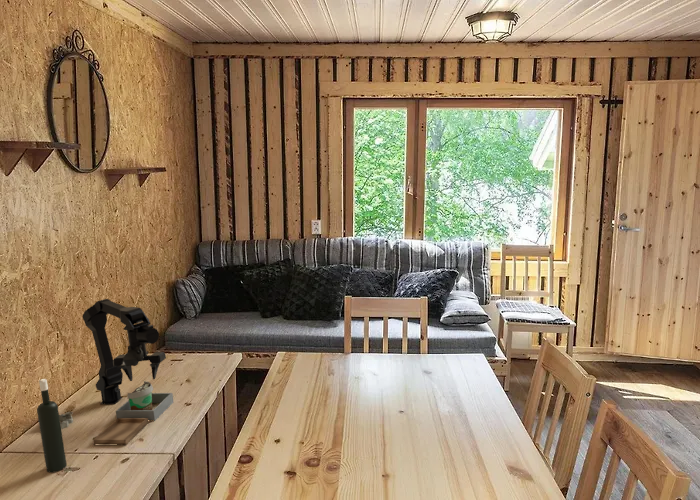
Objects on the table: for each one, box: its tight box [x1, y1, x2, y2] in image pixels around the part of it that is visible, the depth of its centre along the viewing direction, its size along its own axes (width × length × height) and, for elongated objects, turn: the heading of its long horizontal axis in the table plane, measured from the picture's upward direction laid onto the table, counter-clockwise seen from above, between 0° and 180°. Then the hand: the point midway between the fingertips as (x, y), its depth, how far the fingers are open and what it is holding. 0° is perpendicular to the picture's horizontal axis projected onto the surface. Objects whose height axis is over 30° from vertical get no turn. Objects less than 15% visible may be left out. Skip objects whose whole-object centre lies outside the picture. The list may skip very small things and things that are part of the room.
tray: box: [92, 417, 150, 446], centre depth 201 cm, size 12×16×2 cm
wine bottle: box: [36, 378, 67, 473], centre depth 178 cm, size 6×6×30 cm
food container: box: [126, 380, 154, 410], centre depth 218 cm, size 12×6×10 cm, turn 168°
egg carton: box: [59, 411, 74, 430], centre depth 211 cm, size 11×8×4 cm
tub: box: [115, 392, 174, 422], centre depth 218 cm, size 15×16×4 cm
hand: (142, 380), depth 216 cm, fingers open, 9 cm apart
